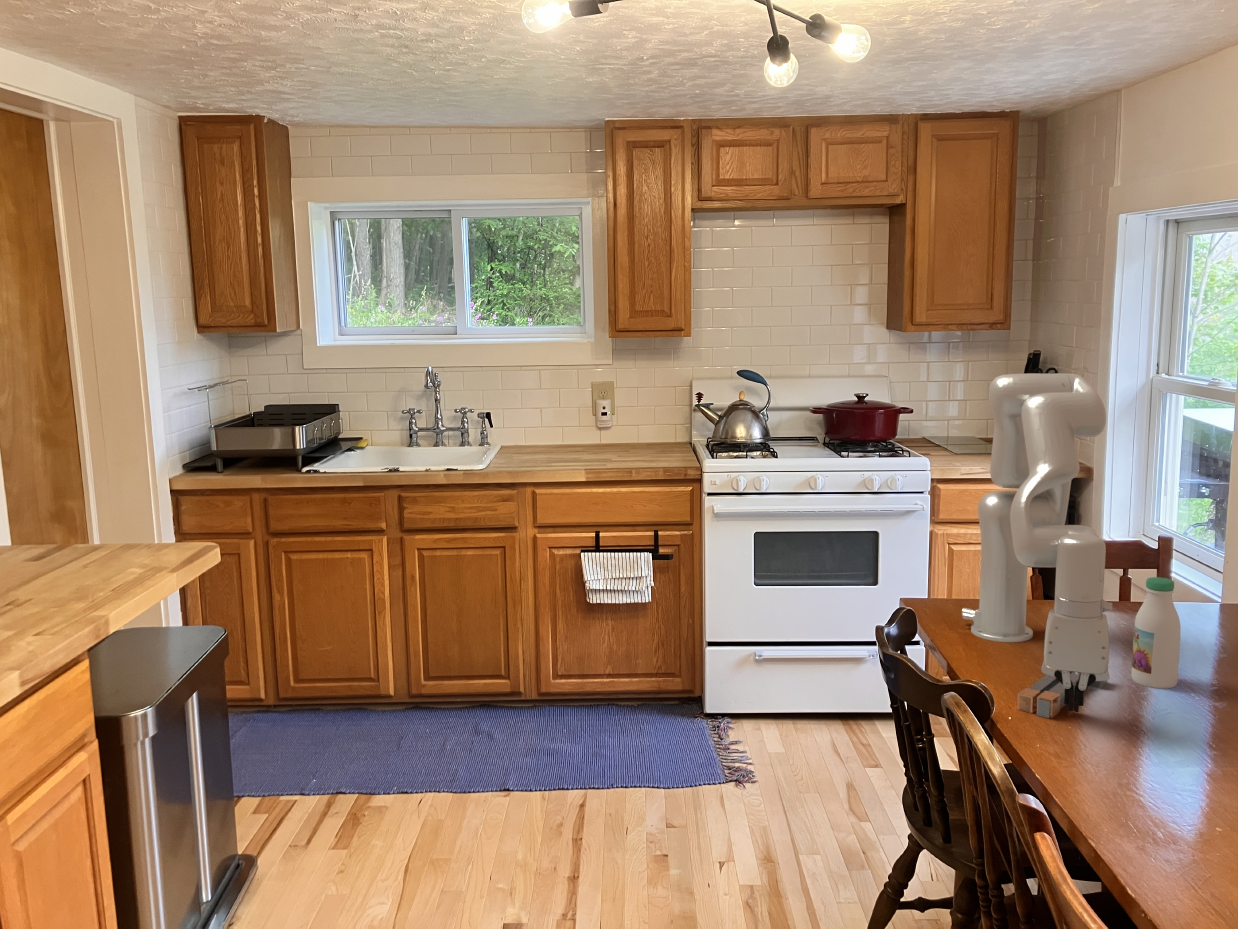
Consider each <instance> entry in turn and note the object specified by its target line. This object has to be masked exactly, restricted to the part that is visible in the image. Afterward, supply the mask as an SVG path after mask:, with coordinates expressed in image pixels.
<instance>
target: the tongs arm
mask: <svg viewBox="0 0 1238 929" xmlns="http://www.w3.org/2000/svg"><path fill="white" fill-rule="evenodd" d="M1079 675H1080V673H1075V672H1072V673H1071V674H1070V678H1071V681H1072V682H1073V685H1074V688H1075V685H1076V682H1078V679H1079ZM1087 688H1088V687H1086V689H1087ZM1086 689H1085V690H1086ZM1064 694H1065V688H1064V686H1063V684H1062V683H1061V682H1059V683H1058V684H1057V685H1056V686H1054V687H1053V688H1052V689H1050V690H1049V691H1044V692H1043V693H1042V694H1040V695H1039V696H1038V697H1037V710H1036V715H1037V717H1038V716H1039V717H1042V718H1047V719H1050V718H1051V719H1053V718H1054V717H1055V716H1056V715H1058V714H1059V713H1060V712H1061V711H1060V710H1061V709H1062V708H1064V707H1065V706H1066V705H1067V704H1064Z"/></svg>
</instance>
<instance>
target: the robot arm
mask: <svg viewBox="0 0 1238 929" xmlns="http://www.w3.org/2000/svg"><path fill="white" fill-rule="evenodd" d="M988 389H989V390H988V402H989V406H990V411H991V413H992V417H993V423H994V424H993V428H994V429H993V437H992V447H991V456H990V457H991V458H990V469H989V470H990V480H991V481H992V483H993V484H994V485H995V486H997V487H999V488H1001V489H1013V490H995V491H991V492H988V493H986V494H985V495H983V496H982V497H981V498H980V500H979V502H978V506H977V514H978V515H977V516H978V521H979V522H978V523H979V531H980V576H979V577H980V578H979V580H980V581H979V583H980V584H979V603H978V604H979V606H978V608H977V609H972V608H968V607H963V608H962V610H961V616H962V619H964V620H968V621H969V620H971V621H972V622H973V623H972V624H971V626H970V632H971V633H972V634H973V635H974V636H976V637H978V638H980V639H984V640H987V641H992V642H999V643H1020V642H1022V643H1023V642H1026V641H1029V640H1031V639H1032V638H1033V636H1034V631H1033V630H1032V628H1031V627H1029V626H1027V625H1026V620H1027V599H1028V598H1027V595H1028V574H1029V573H1028V571H1029V570H1028V569H1029V567H1031V568H1055V582H1054V583H1055V585H1054V605H1053V606H1054V608H1052V609H1050V610H1049V612H1048V615H1047V619H1046V625H1045V632H1044V642H1043V643H1044V644H1043V662H1042V666H1041V672H1042V674H1044V675H1046V674H1047V675H1050V676H1054V677H1056V678H1057V679H1058V680H1059V681H1060V682H1061V683H1062V684H1063V686H1064V688H1065V694H1064V704H1066V705H1068V710H1067V711H1068V712H1073V711H1074V712H1075V713H1079V710H1080V709H1079V708H1080V707H1084V694H1085V691H1086V687H1087V688H1089V687H1088V686H1089V685H1091V684H1092V683H1093V682H1095V681H1105V680H1108V681H1109V680H1110V673H1109V664H1110V663H1109V662H1110V635H1109V632H1110V631H1109V620H1108V618H1107V615H1106V614H1105V612H1108V611H1110V612H1112V611H1113V602H1108V601H1106V600H1105V599H1104V591H1105V590H1104V589H1105V588H1104V587H1105V586H1104V585H1105V570H1106V569H1105V568H1106V553H1107V551H1106V550H1107V549H1106V543H1105V541H1104V539H1102V538H1101V537H1100V536H1099V535H1098V534H1097V533H1096V531H1095V530H1094V529H1093V528H1092V527H1090V526H1088V525H1081V524H1066V520H1067V515H1068V514H1067V513H1068V506H1069V500H1070V493H1071V492H1070V491H1071V485H1072V480H1073V479H1075V477H1077V476H1078V474H1079V472H1080V462H1079V456H1078V452H1077V446H1076V445H1077V444H1076V438H1095V437H1097V436H1099V435H1101V433H1103V432H1104V430H1105V427H1106V422H1107V414H1106V409H1105V408H1106V407H1105V405H1104V402H1103V400H1102V398H1101V396H1100V395H1099V393H1098V391H1097V390H1096V389H1095V388H1094V387H1093V386H1092V385H1091V384H1090V383H1089V382H1088V381H1087V380H1086V379H1085V378H1084V377H1083V376H1081V375H1079V374H1077V373H1066V372H1065V373H1063V372H1062V373H1039V372H1038V373H1030V372H1029V373H1008V374H1002V375H1001V374H1000V375H998V376H996V377H995V378H994V379H993V380H992V381H991V383H990V385H989V388H988ZM1015 489H1016V490H1015ZM1070 672H1075V673H1080V675H1079V679H1078V682H1076V685H1075V688H1074V685H1073V682H1072V681H1071V678H1070Z"/></svg>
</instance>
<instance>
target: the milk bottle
mask: <svg viewBox="0 0 1238 929" xmlns="http://www.w3.org/2000/svg"><path fill="white" fill-rule="evenodd" d="M1145 590H1146V596H1145V599H1144V601H1143V603H1142V604H1141V606H1140V608H1139V609H1138V612H1137V613H1136V616H1135V620H1134V628H1133V641H1132V642H1133V643H1132V655H1131V656H1132V657H1131V658H1132V659H1131V660H1132V661H1131V679H1132V681H1133V683H1136V684H1138V685H1141V686H1143V687H1148V688H1152V689H1153V688H1154V689H1163V690H1165V689H1172V688H1175V687H1176V686H1177V685H1178V681H1179V680H1178V679H1179V663H1180V653H1181V651H1180V650H1181V648H1180V647H1181V621H1180V620H1181V619H1180V617H1179V614H1178V611H1177V609H1176V607H1175V604H1174V600H1173V594H1174V593H1175V592H1174V590H1175V581H1174V580H1172V579H1170V578H1166V577H1159V576H1157V577H1156V576H1154V577H1153V576H1152V577H1151V576H1150V577H1147V579H1146V581H1145Z"/></svg>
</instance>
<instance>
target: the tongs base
mask: <svg viewBox="0 0 1238 929" xmlns="http://www.w3.org/2000/svg"><path fill="white" fill-rule="evenodd" d="M1071 673H1072V672H1070V674H1071ZM1059 682H1060V681H1059V680H1058V679H1057V678H1056V677H1054V676H1050V675H1047V674H1044V676H1043V677H1041V678H1040V679H1039V680H1037V681H1036V682H1035V683H1034V684H1032V685H1031V686H1030V687H1025V688H1024V689H1022V690H1021V691H1019V692H1018V693H1017V707H1016V710H1018V711H1021V712H1025V713H1029V714H1033V713H1034V712H1036V711H1037V697H1038V696H1039V695H1040V694H1042V693H1043V692H1044V691H1049V690H1050V689H1052V688H1053V687H1054V686H1056V685H1057V684H1058V683H1059ZM1108 682H1109V680H1105V681H1095V682H1093V683H1092V684H1091V685H1089V686H1088V687H1087V688H1092V689H1098V690H1102V689H1103V688H1104V687H1105V686H1106V685H1107V684H1108Z"/></svg>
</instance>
